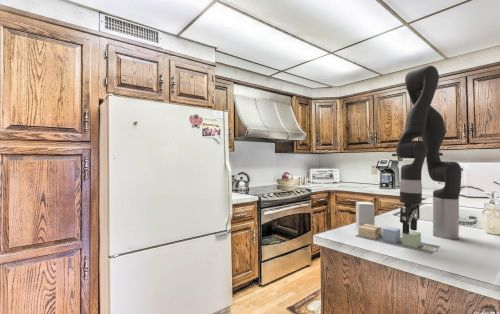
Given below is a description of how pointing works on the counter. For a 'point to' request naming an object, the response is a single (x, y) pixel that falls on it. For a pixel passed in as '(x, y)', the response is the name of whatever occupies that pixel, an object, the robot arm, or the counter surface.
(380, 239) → the mat
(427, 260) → the counter surface
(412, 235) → the sage block
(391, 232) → the blue block
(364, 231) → the maple base
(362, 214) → the supplement box
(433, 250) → the card
